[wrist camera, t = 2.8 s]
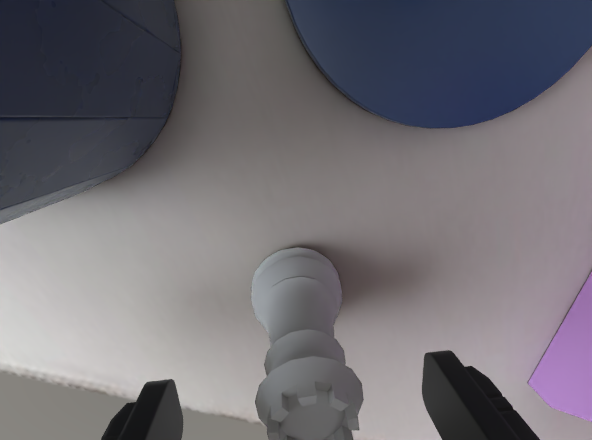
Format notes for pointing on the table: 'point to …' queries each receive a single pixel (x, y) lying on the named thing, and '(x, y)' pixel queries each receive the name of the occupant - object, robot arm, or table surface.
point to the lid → (443, 53)
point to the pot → (80, 93)
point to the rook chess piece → (303, 350)
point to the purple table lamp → (569, 361)
